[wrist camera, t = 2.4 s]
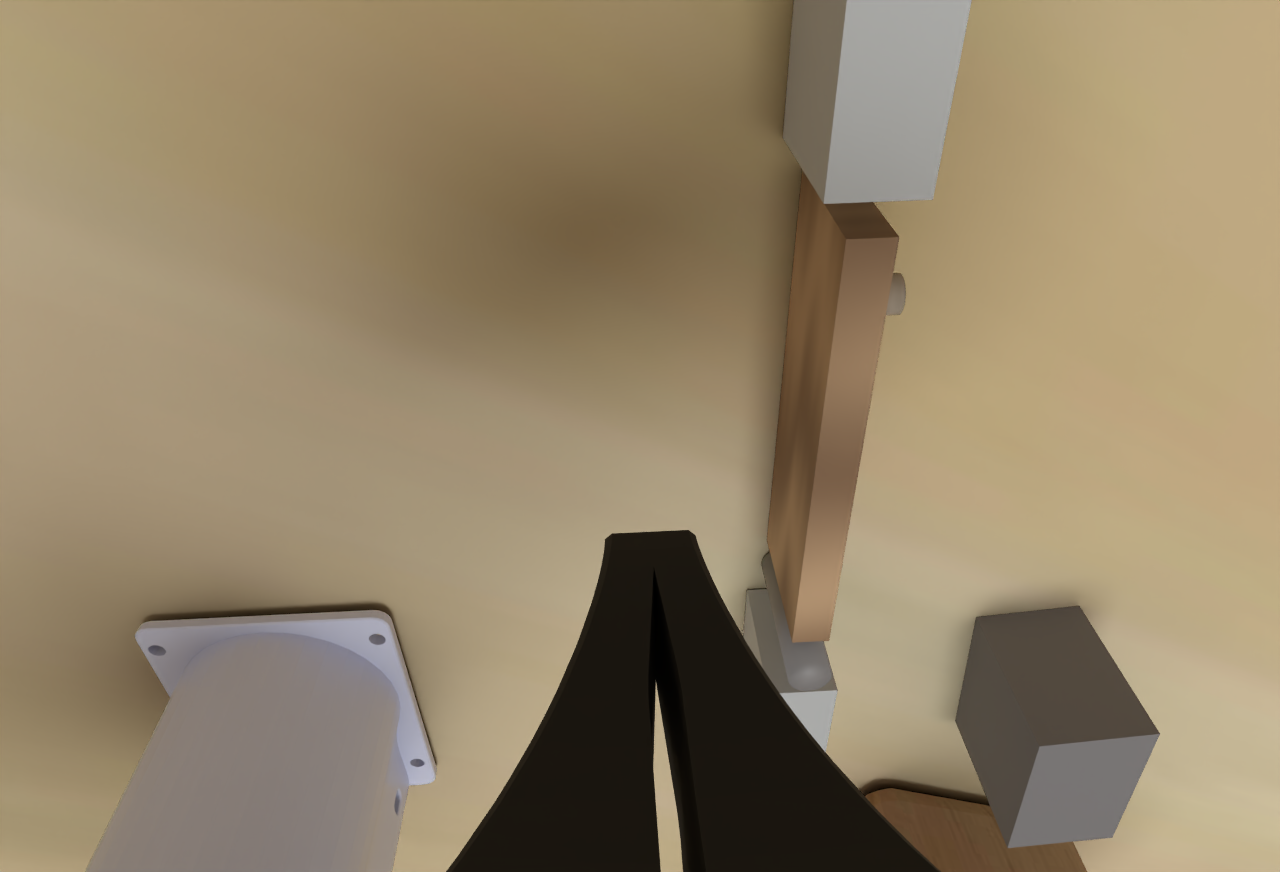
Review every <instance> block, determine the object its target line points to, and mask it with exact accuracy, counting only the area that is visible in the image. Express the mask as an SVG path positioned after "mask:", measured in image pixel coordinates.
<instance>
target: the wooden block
mask: <svg viewBox="0 0 1280 872" xmlns="http://www.w3.org/2000/svg"><path fill="white" fill-rule="evenodd" d="M865 797H866V798H867V799H868V800H869V801H870V803H871V804H872V805H873V806H874V807H875V808H876V809H877V810H878V811H879V812H880V813H881V814H882V815H883V816H884V817H885V818H886V819H887V820H888V821H889V822H890V823H891V824H892V825H893V826H894V827H895V828H896V829H897V830H898V831H899V832H900V833H901V834H902V835H903V836H904V837H905V838H906V839H907V840H908V841H909V842H910V843H911V844H912V845H913V846H914V847H915V848H916V849H917V850H918V851H919V852H920V853H921V854H922V855H924V856H925V857H926V858H927V859H928V860H929V861H930V862H931V863H932V864H933V865H934V866H935V867H936V868H937V869H939V870H940V871H941V872H1087V871H1086V868H1085V866H1084V864H1083V862H1082V860H1081V858H1080V856H1079V854H1078V852H1077V849H1076V847H1075V845H1074V843H1073V842H1064V843H1054V844H1044V845H1034V846H1024V847H1014V848H1007V846H1006V843H1005V841H1004V838H1003V836H1002V834H1001V831H1000V829H999V826H998V824H997V821H996V819H995V816H994V814H993V812H992V809H991V807H990V806H988V805H982V804H977V803H971V802H966V801H960V800H955V799H949V798H943V797H938V796H932V795H927V794H921V793H916V792H910V791H905V790H899V789H894V788H888V789H883V790H878V791H875V792H872V793H870V794H867V795H866V796H865Z"/></svg>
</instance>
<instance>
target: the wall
mask: <svg viewBox="0 0 1280 872" xmlns="http://www.w3.org/2000/svg"><path fill="white" fill-rule="evenodd" d="M971 1H972V0H794V3H793V16H792V28H791V41H790V54H789V66H788V79H787V91H786V104H785V117H784V129H783V139H784V141H785V142H786V144H787V146H788V147H789V149H790V151H791V152H792V154H793V155H794V157H795V159H796V160H797V162H798V163H799V165H800V167H801V168H802V170H803V171H804V173H805V175H806V176H807V178H808V179H809V181H810V183H811V184H812V186H813V187H814V189H815V191H816V192H817V194H818V195H819V197H820V199H821V200H822V202H823V204H835V203H860V202H886V201H912V200H933V196H934V191H935V186H936V181H937V176H938V171H939V166H940V160H941V155H942V150H943V145H944V140H945V135H946V130H947V124H948V119H949V114H950V109H951V104H952V99H953V94H954V88H955V83H956V78H957V73H958V68H959V63H960V58H961V52H962V47H963V42H964V37H965V32H966V27H967V21H968V16H969V11H970V6H971ZM762 569H763V573H764V578H765V582H766V586H767V589H757V590H747V596H746V609H745V621H744V634H743V637H744V639H745V641H746V642H747V644H748V646H749V647H750V649H751V651H752V652H753V654H754V655H755V657H756V659H757V660H758V662H759V663H760V665H761V666H762V668H763V669H764V671H765V672H766V674H767V675H768V677H769V678H770V680H771V681H772V683H773V684H774V686H775V687H776V689H777V690H778V691H779V693H780V694H781V696H782V697H783V698H784V700H785V701H786V703H787V704H788V705H789V707H790V708H791V709H792V711H793V712H794V713H795V715H796V716H797V717H798V719H799V720H800V721H801V723H802V724H803V725H804V726H805V728H806V729H807V730H808V732H809V733H810V734H811V735H812V737H813V738H814V739H815V740H816V741H817V743H818V744H819V745H820V746H821V748H822V749H823V750H824V751H825V752H826V747H827V742H828V737H829V731H830V726H831V721H832V716H833V711H834V706H835V701H836V695H837V687H836V683H835V680H834V676H833V673H832V669H831V666H830V662H829V659H828V655H827V652H826V648H825V645H824V641H815V642H795V643H792V640H791V636H790V632H789V628H788V624H787V620H786V615H785V611H784V607H783V603H782V599H781V595H780V591H779V587H778V583H777V579H776V575H775V571H774V567H773V562H772V558H771V554H770V552H769V553H768V554H766V555H765V557H764V558H763V560H762Z"/></svg>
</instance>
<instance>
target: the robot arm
mask: <svg viewBox="0 0 1280 872" xmlns="http://www.w3.org/2000/svg"><path fill="white" fill-rule="evenodd" d="M377 634H380V635H377ZM135 639H136V641H137V643H138V644H139V646H140V648H141V649H142V651H143V653H144V655H145V656H146V658H147V660H148V661H149V663H150V665H151V666H152V668H153V670H154V671H155V673H156V675H157V677H158V678H159V680H160V682H161V683H162V685H163V687H164V688H165V690H166V692H167V693H168V695H169V697H170V699H169V701H168V703H167V706H166V708H165V710H164V712H163V714H162V716H161V718H160V720H159V722H158V724H157V726H156V728H155V730H154V732H153V734H152V736H151V738H150V740H149V742H148V744H147V746H146V748H145V750H144V752H143V754H142V756H141V758H140V761H139V763H138V765H137V767H136V769H135V771H134V773H133V775H132V777H131V779H130V781H129V783H128V785H127V787H126V789H125V791H124V793H123V795H122V797H121V799H120V801H119V803H118V805H117V807H116V809H115V811H114V813H113V816H112V818H111V820H110V822H109V824H108V826H107V828H106V830H105V832H104V834H103V836H102V838H101V840H100V842H99V844H98V846H97V848H96V850H95V852H94V854H93V856H92V858H91V860H90V862H89V864H88V866H87V868H86V871H85V872H392V870H393V865H394V859H395V854H396V849H397V844H398V839H399V834H400V829H401V823H402V818H403V813H404V808H405V803H406V798H407V792H408V787H409V785H423V784H429V783H431V782H433V781H434V780H435V778H436V772H437V768H436V765H435V761H434V758H433V755H432V751H431V748H430V745H429V741H428V738H427V735H426V731H425V728H424V725H423V721H422V718H421V715H420V712H419V708H418V705H417V702H416V698H415V695H414V692H413V688H412V685H411V682H410V678H409V675H408V672H407V668H406V665H405V662H404V659H403V655H402V652H401V649H400V645H399V642H398V639H397V635H396V632H395V629H394V625H393V622H392V619H391V618H390V616H389V615H387V614H386V613H385V612H382V611H379V610H363V611H343V612H323V613H303V614H282V615H262V616H242V617H222V618H202V619H182V620H162V621H148V622H144V623H142V624H141V625H140V627H139V628H138V630H137V632H136V634H135ZM656 683H657V690H658V696H659V702H660V708H661V714H662V721H663V727H664V733H665V739H666V745H667V751H668V757H669V763H670V770H671V776H672V782H673V788H674V794H675V800H676V806H677V813H678V821H679V829H680V838H681V850H682V863H683V872H941V871H940V870H939V869H937V868H936V867H935V866H934V865H933V864H932V863H931V862H930V861H929V860H928V859H927V858H926V857H925V856H924V855H922V854H921V853H920V852H919V851H918V850H917V849H916V848H915V847H914V846H913V845H912V844H911V843H910V842H909V841H908V840H907V839H906V838H905V837H904V836H903V835H902V834H901V833H900V832H899V831H898V830H897V829H896V828H895V827H894V826H893V825H892V824H891V823H890V822H889V821H888V820H887V819H886V818H885V817H884V816H883V815H882V814H881V813H880V812H879V811H878V810H877V809H876V808H875V807H874V806H873V805H872V804H871V803H870V801H869V800H868V799H867V798H866V797H865V796H864V795H863V794H862V793H861V792H860V791H859V789H858V788H857V787H856V786H855V785H854V784H853V783H852V782H851V781H850V780H849V778H848V777H847V776H846V775H845V774H844V773H843V772H842V771H841V770H840V769H839V767H838V766H837V765H836V764H835V763H834V762H833V761H832V760H831V758H830V757H829V756H828V755H827V754H826V752H825V751H824V750H823V749H822V748H821V746H820V745H819V744H818V743H817V741H816V740H815V739H814V738H813V737H812V735H811V734H810V733H809V732H808V730H807V729H806V728H805V726H804V725H803V724H802V723H801V721H800V720H799V719H798V717H797V716H796V715H795V713H794V712H793V711H792V709H791V708H790V707H789V705H788V704H787V703H786V701H785V700H784V698H783V697H782V696H781V694H780V693H779V691H778V690H777V689H776V687H775V686H774V684H773V683H772V681H771V680H770V678H769V677H768V675H767V674H766V672H765V671H764V669H763V668H762V666H761V665H760V663H759V662H758V660H757V659H756V657H755V655H754V654H753V652H752V651H751V649H750V647H749V646H748V644H747V642H746V641H745V639H744V637H743V636H742V634H741V632H740V630H739V629H738V627H737V625H736V623H735V622H734V620H733V618H732V616H731V615H730V613H729V611H728V609H727V607H726V606H725V604H724V602H723V600H722V598H721V596H720V594H719V592H718V590H717V588H716V586H715V584H714V582H713V580H712V577H711V575H710V573H709V571H708V569H707V566H706V564H705V562H704V559H703V557H702V554H701V551H700V549H699V546H698V543H697V539H696V536H695V535H694V534H693V533H692V532H690V531H689V530H680V531H659V532H638V533H616V534H611V535H610V536H609V537H607V538H606V539H605V548H604V555H603V561H602V566H601V571H600V575H599V579H598V583H597V586H596V590H595V593H594V597H593V600H592V603H591V606H590V609H589V612H588V615H587V618H586V621H585V623H584V626H583V629H582V632H581V635H580V638H579V640H578V643H577V645H576V648H575V650H574V653H573V655H572V657H571V660H570V662H569V664H568V667H567V669H566V671H565V674H564V676H563V678H562V681H561V683H560V685H559V687H558V690H557V692H556V694H555V696H554V698H553V700H552V702H551V704H550V706H549V708H548V710H547V712H546V714H545V716H544V718H543V720H542V722H541V724H540V726H539V728H538V730H537V731H536V733H535V735H534V737H533V739H532V741H531V743H530V744H529V746H528V748H527V750H526V751H525V753H524V755H523V756H522V758H521V760H520V762H519V763H518V765H517V767H516V768H515V770H514V772H513V774H512V775H511V777H510V779H509V780H508V782H507V784H506V785H505V787H504V788H503V790H502V792H501V793H500V795H499V796H498V798H497V800H496V801H495V803H494V804H493V806H492V807H491V809H490V810H489V812H488V813H487V814H486V816H485V817H484V819H483V820H482V822H481V823H480V825H479V826H478V828H477V829H476V830H475V832H474V833H473V835H472V836H471V838H470V839H469V841H468V842H467V844H466V845H465V847H464V848H463V849H462V851H461V852H460V854H459V855H458V857H457V858H456V859H455V861H454V862H453V863H452V865H451V866H450V867H449V869H448V870H447V871H446V872H661V870H660V856H659V843H658V829H657V815H656V802H655V787H654V773H653V755H654V721H655V687H656Z"/></svg>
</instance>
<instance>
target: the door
mask: <svg viewBox="0 0 1280 872" xmlns="http://www.w3.org/2000/svg"><path fill="white" fill-rule="evenodd" d="M898 242H899V236H898V235H897V234H896V232H895V231H894V230H893V228H892V227H891V226H890V224H889V223H888V222H887V220H886V219H885V218H884V216H883V215H882V214H881V212H880V211H879V210H878V209H877V207H876V206H875V205H874V203H873V202H860V203H835V204H823V202H822V200H821V199H820V197H819V195H818V194H817V192H816V191H815V189H814V187H813V186H812V184H811V183H810V181H809V179H808V178H807V176H806V175H805V173H804V171H803V170H802V177H801V188H800V198H799V209H798V219H797V230H796V240H795V251H794V261H793V272H792V282H791V293H790V303H789V314H788V324H787V335H786V345H785V356H784V366H783V377H782V387H781V398H780V408H779V419H778V429H777V440H776V450H775V461H774V471H773V482H772V492H771V503H770V513H769V524H768V534H767V542H768V546H769V550H770V554H771V558H772V562H773V567H774V571H775V575H776V579H777V583H778V587H779V591H780V595H781V599H782V603H783V607H784V611H785V615H786V620H787V624H788V628H789V632H790V636H791V640H792V643H795V642H815V641H829V638H830V632H831V626H832V620H833V615H834V609H835V603H836V597H837V592H838V586H839V580H840V575H841V569H842V563H843V557H844V552H845V546H846V540H847V534H848V529H849V523H850V517H851V511H852V506H853V500H854V494H855V488H856V483H857V477H858V471H859V466H860V460H861V454H862V448H863V443H864V437H865V431H866V425H867V420H868V414H869V408H870V402H871V397H872V391H873V385H874V379H875V374H876V368H877V362H878V357H879V351H880V345H881V339H882V334H883V328H884V322H885V316H886V315H900V314H901V313H902V311H903V308H904V305H905V298H906V288H905V282H904V278H903V276H902V274H901V273H893V270H894V265H895V259H896V253H897V247H898Z"/></svg>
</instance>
